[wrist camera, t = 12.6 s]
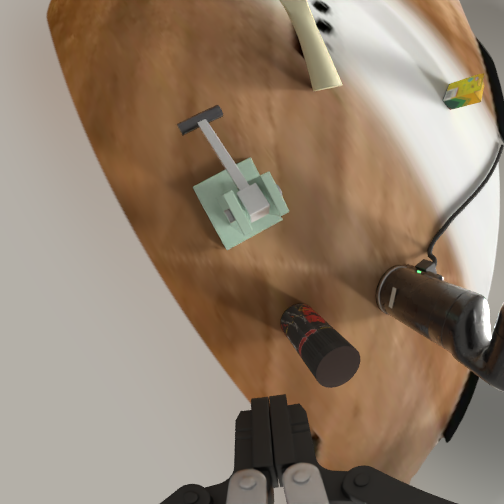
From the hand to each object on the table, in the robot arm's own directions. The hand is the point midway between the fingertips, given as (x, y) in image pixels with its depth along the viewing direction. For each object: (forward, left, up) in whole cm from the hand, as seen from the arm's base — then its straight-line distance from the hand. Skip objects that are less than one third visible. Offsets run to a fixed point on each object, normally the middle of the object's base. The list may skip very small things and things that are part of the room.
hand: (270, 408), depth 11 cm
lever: (-7, -11, -22) cm, 26 cm away
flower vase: (-30, -33, -31) cm, 54 cm away
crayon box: (-62, -8, -31) cm, 69 cm away
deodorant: (-7, +15, -31) cm, 35 cm away
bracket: (-7, -6, -31) cm, 32 cm away
